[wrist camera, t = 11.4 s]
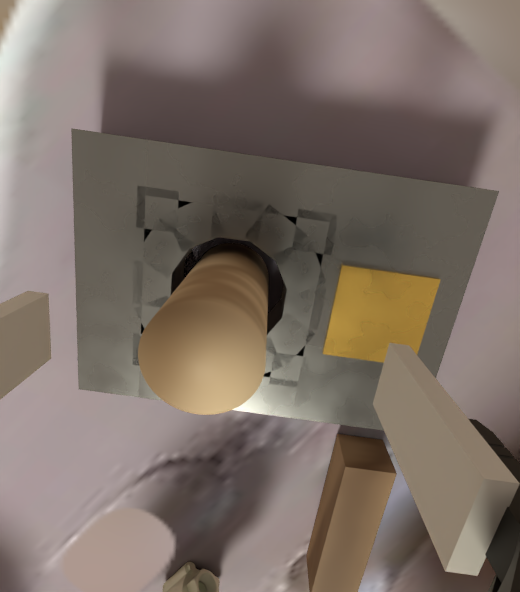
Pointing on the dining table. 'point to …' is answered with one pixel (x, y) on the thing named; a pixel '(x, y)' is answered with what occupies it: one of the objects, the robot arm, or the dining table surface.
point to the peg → (210, 334)
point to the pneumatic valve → (192, 580)
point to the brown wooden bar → (349, 513)
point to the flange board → (288, 255)
